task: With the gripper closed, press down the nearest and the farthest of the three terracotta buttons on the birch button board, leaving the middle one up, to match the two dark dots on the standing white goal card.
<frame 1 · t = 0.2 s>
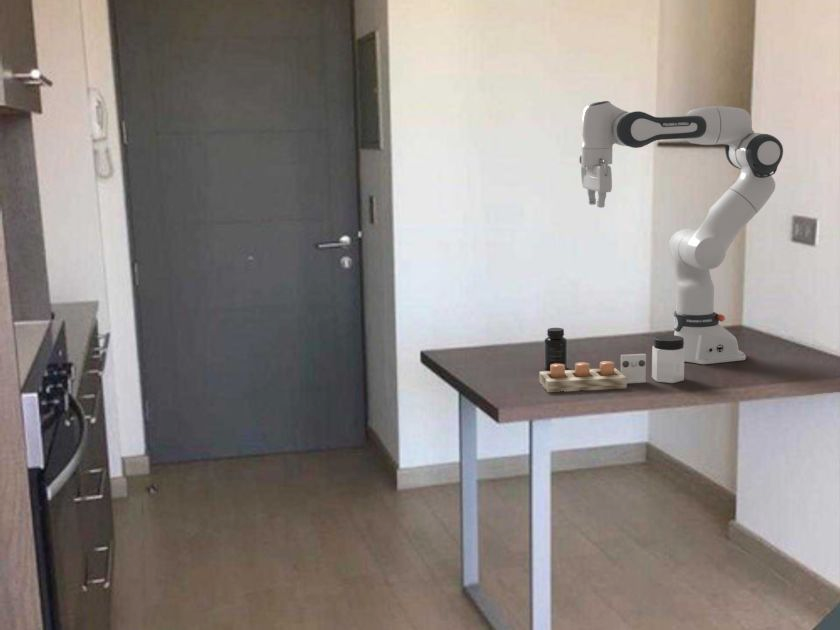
hand: (596, 205, 291), 47 cm above the table, tool pointing down, fingers open, 8 cm apart
button far: (557, 370, 274), point 5 cm above the table, slide at 0.0 cm
button near: (607, 368, 276), point 5 cm above the table, slide at 0.0 cm
supplement bottle: (555, 369, 295), on the table
jar: (667, 379, 280), on the table
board: (582, 385, 276), on the table
goal card: (633, 382, 277), on the table
button mid: (582, 369, 275), point 5 cm above the table, slide at 0.0 cm
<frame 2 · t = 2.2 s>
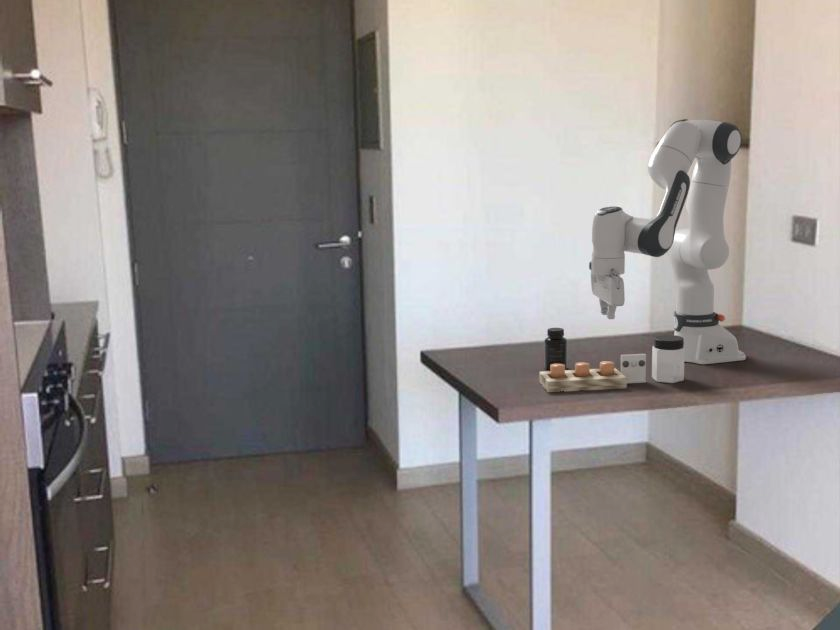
hand: (607, 316, 273), 19 cm above the table, tool pointing down, fingers open, 5 cm apart
nothing on the table moved.
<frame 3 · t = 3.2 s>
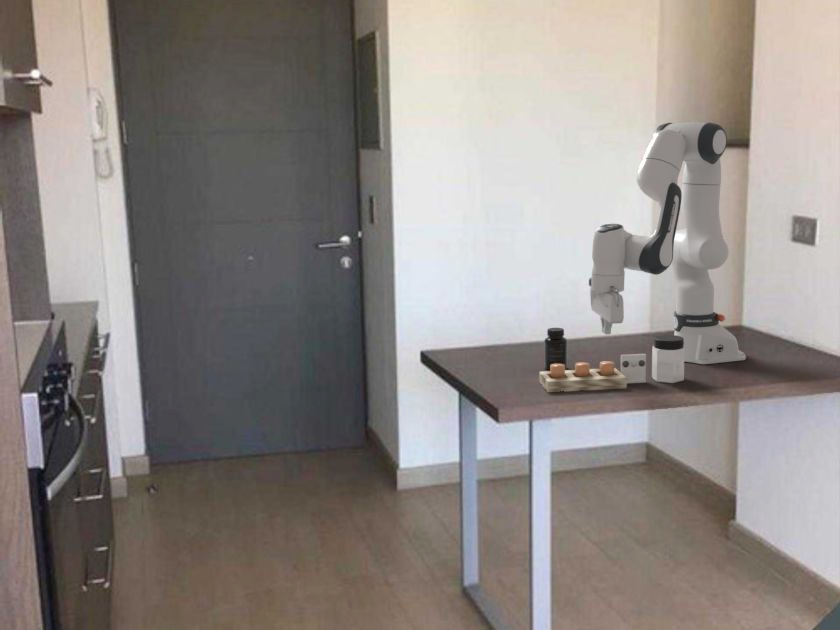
hand: (606, 333, 273), 14 cm above the table, tool pointing down, fingers closed
nothing on the table moved.
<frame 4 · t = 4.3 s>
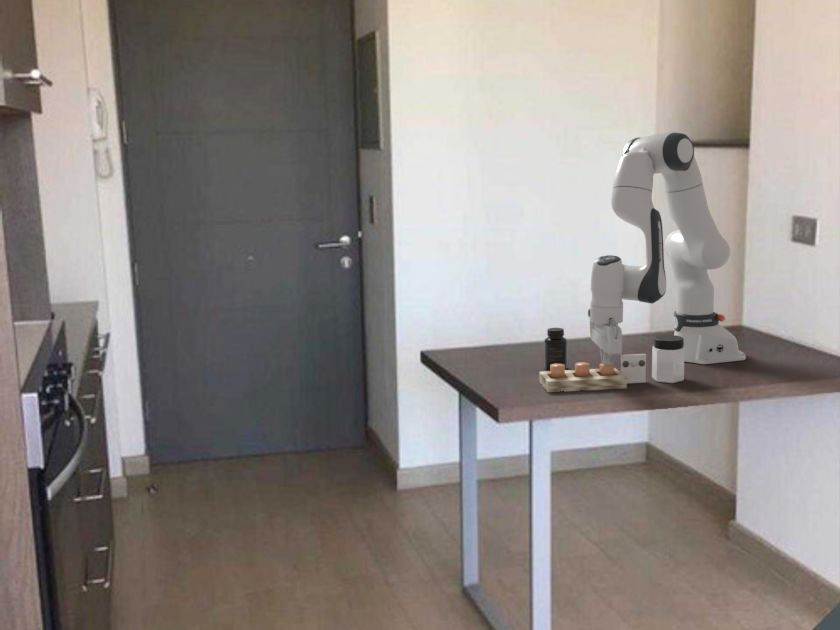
hand: (605, 364, 275), 6 cm above the table, tool pointing down, fingers closed, pressing on button near
button near: (607, 369, 276), point 4 cm above the table, slide at 0.4 cm, touching gripper
everything else where it was.
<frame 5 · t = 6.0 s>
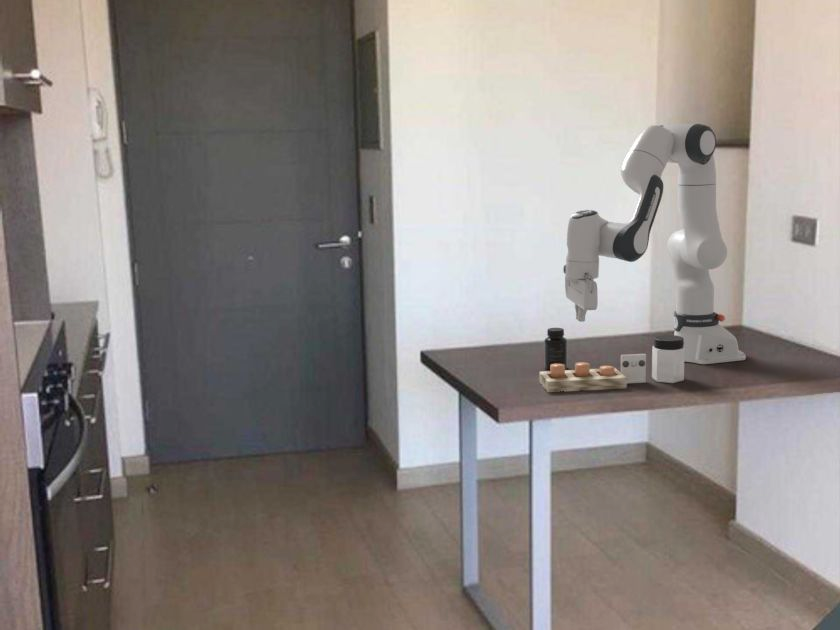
hand: (580, 320, 272), 18 cm above the table, tool pointing down, fingers closed
button near: (606, 372, 276), point 3 cm above the table, slide at 1.3 cm
everything else where it was.
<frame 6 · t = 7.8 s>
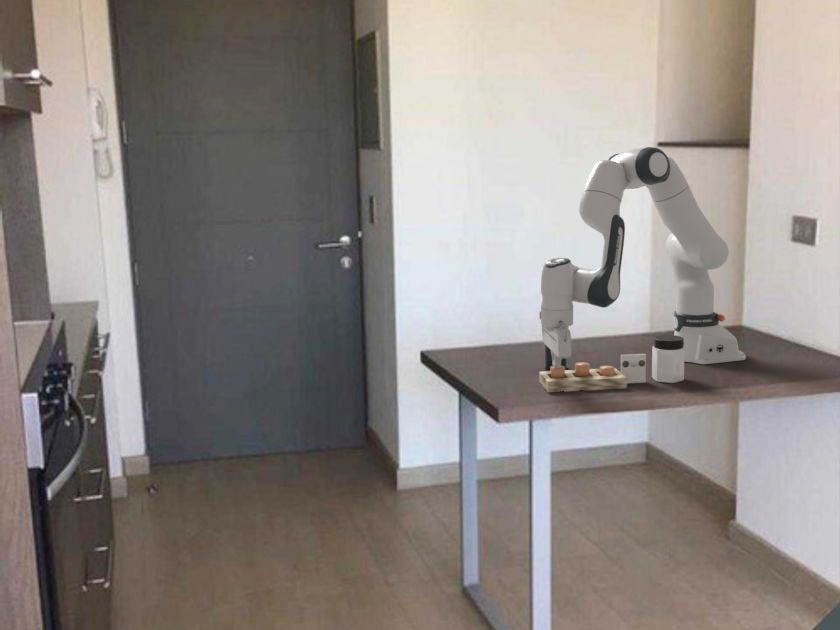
hand: (556, 366, 274), 6 cm above the table, tool pointing down, fingers closed, pressing on button far
button far: (557, 372, 274), point 4 cm above the table, slide at 0.5 cm, touching gripper
everything else where it was.
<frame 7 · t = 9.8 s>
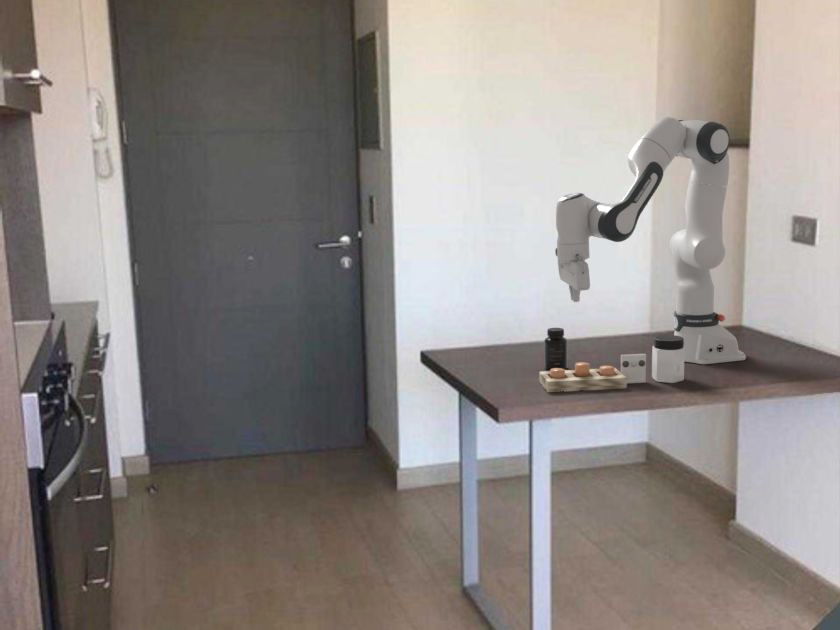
hand: (575, 301, 279), 22 cm above the table, tool pointing down, fingers closed
button far: (557, 375, 275), point 3 cm above the table, slide at 1.3 cm
everything else where it was.
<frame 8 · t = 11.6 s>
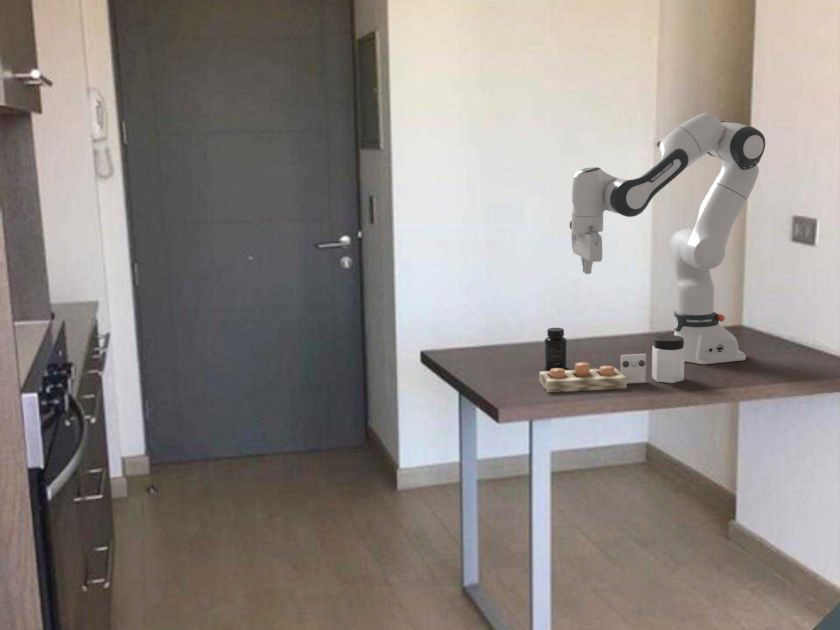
hand: (587, 273, 285), 29 cm above the table, tool pointing down, fingers closed
nothing on the table moved.
at the end: button near slide at 1.3 cm; button far slide at 1.3 cm; button mid slide at 0.0 cm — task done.
